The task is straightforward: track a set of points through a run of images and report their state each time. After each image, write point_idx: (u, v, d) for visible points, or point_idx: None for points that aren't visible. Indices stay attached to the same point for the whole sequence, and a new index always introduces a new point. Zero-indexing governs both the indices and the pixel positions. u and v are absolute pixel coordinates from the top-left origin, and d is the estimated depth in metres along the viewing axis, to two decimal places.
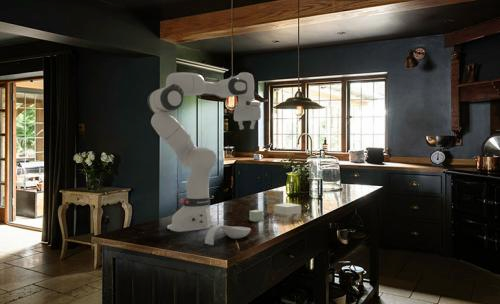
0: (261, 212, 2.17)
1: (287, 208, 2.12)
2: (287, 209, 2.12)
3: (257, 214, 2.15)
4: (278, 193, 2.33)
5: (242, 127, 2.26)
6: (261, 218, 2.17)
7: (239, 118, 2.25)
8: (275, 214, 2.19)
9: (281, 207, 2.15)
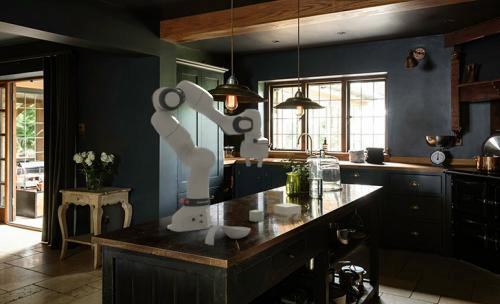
0: (261, 212, 2.17)
1: (287, 208, 2.12)
2: (287, 209, 2.12)
3: (257, 214, 2.15)
4: (278, 193, 2.33)
5: (249, 164, 2.22)
6: (261, 218, 2.17)
7: (246, 155, 2.20)
8: (275, 214, 2.19)
9: (281, 207, 2.15)
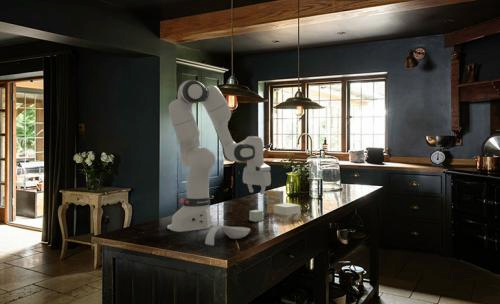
0: (261, 212, 2.17)
1: (286, 208, 2.12)
2: (287, 209, 2.13)
3: (257, 214, 2.15)
4: (278, 193, 2.33)
5: (252, 190, 2.21)
6: (261, 218, 2.17)
7: (248, 181, 2.20)
8: (275, 214, 2.19)
9: (281, 207, 2.15)
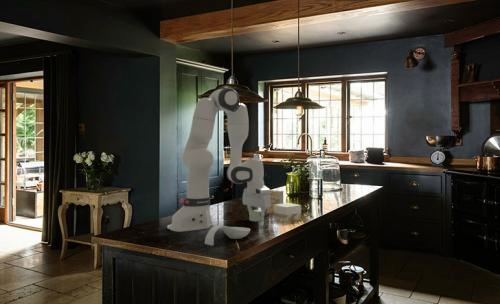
0: None
1: (287, 208, 2.12)
2: (287, 209, 2.13)
3: (257, 214, 2.15)
4: (278, 193, 2.33)
5: None
6: (261, 218, 2.17)
7: (248, 203, 2.21)
8: (275, 214, 2.20)
9: (281, 207, 2.15)
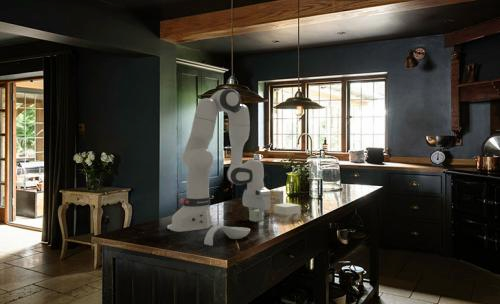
0: None
1: (287, 208, 2.13)
2: (287, 209, 2.13)
3: (257, 214, 2.16)
4: (278, 193, 2.33)
5: None
6: (261, 218, 2.17)
7: (248, 204, 2.20)
8: (275, 214, 2.20)
9: (281, 207, 2.16)
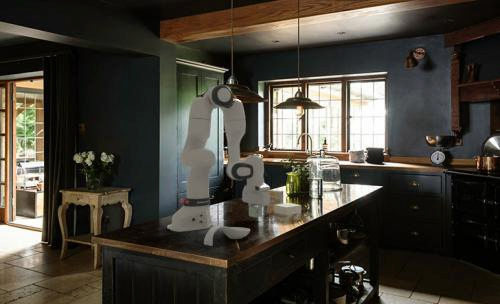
0: None
1: (287, 208, 2.13)
2: (287, 209, 2.13)
3: (256, 210, 2.15)
4: (278, 193, 2.33)
5: None
6: (260, 214, 2.16)
7: (248, 200, 2.19)
8: (275, 214, 2.20)
9: (281, 207, 2.15)
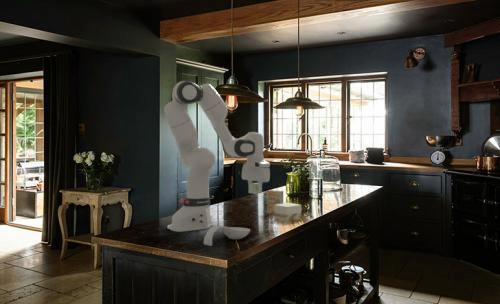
0: None
1: (287, 208, 2.13)
2: (288, 209, 2.13)
3: (256, 186, 2.15)
4: (278, 193, 2.33)
5: None
6: (260, 191, 2.16)
7: (247, 177, 2.19)
8: (275, 214, 2.20)
9: (281, 207, 2.16)
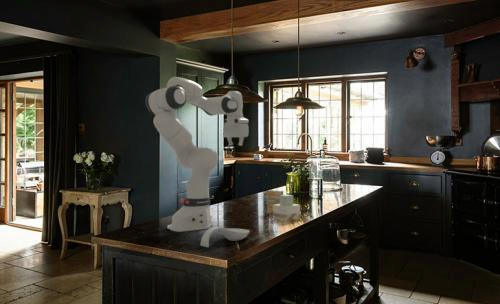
0: (292, 196, 2.18)
1: (287, 208, 2.13)
2: (287, 209, 2.13)
3: (288, 198, 2.17)
4: (278, 193, 2.33)
5: (231, 143, 2.34)
6: (292, 202, 2.19)
7: (228, 135, 2.33)
8: (274, 214, 2.20)
9: (281, 207, 2.15)
